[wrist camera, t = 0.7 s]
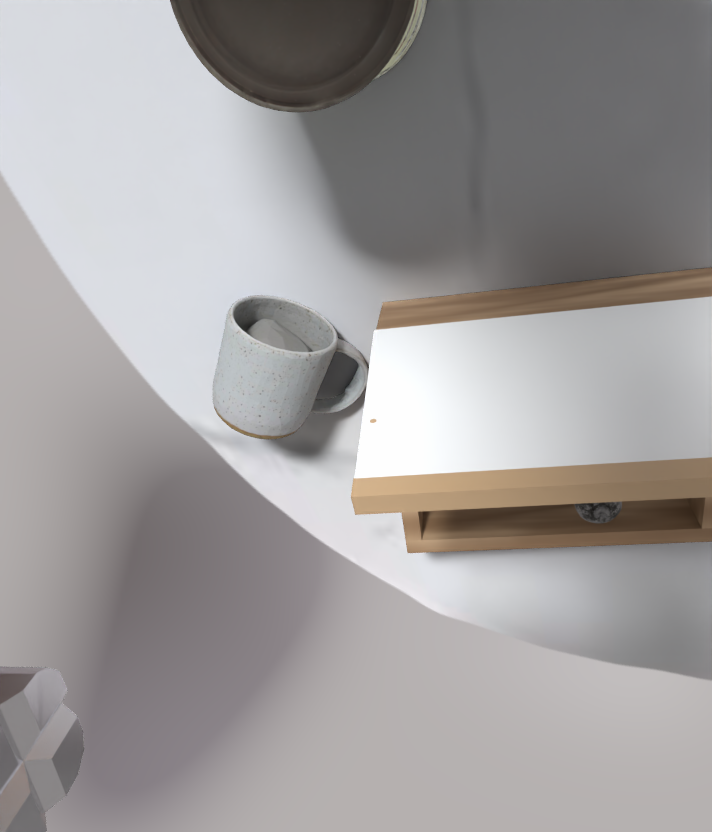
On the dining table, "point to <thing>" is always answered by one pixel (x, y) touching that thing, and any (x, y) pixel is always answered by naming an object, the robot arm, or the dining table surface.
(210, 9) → the coffee can
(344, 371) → the dining table surface
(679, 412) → the propped lid
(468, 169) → the dining table surface
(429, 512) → the cold frame
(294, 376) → the ceramic mug
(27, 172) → the dining table surface
